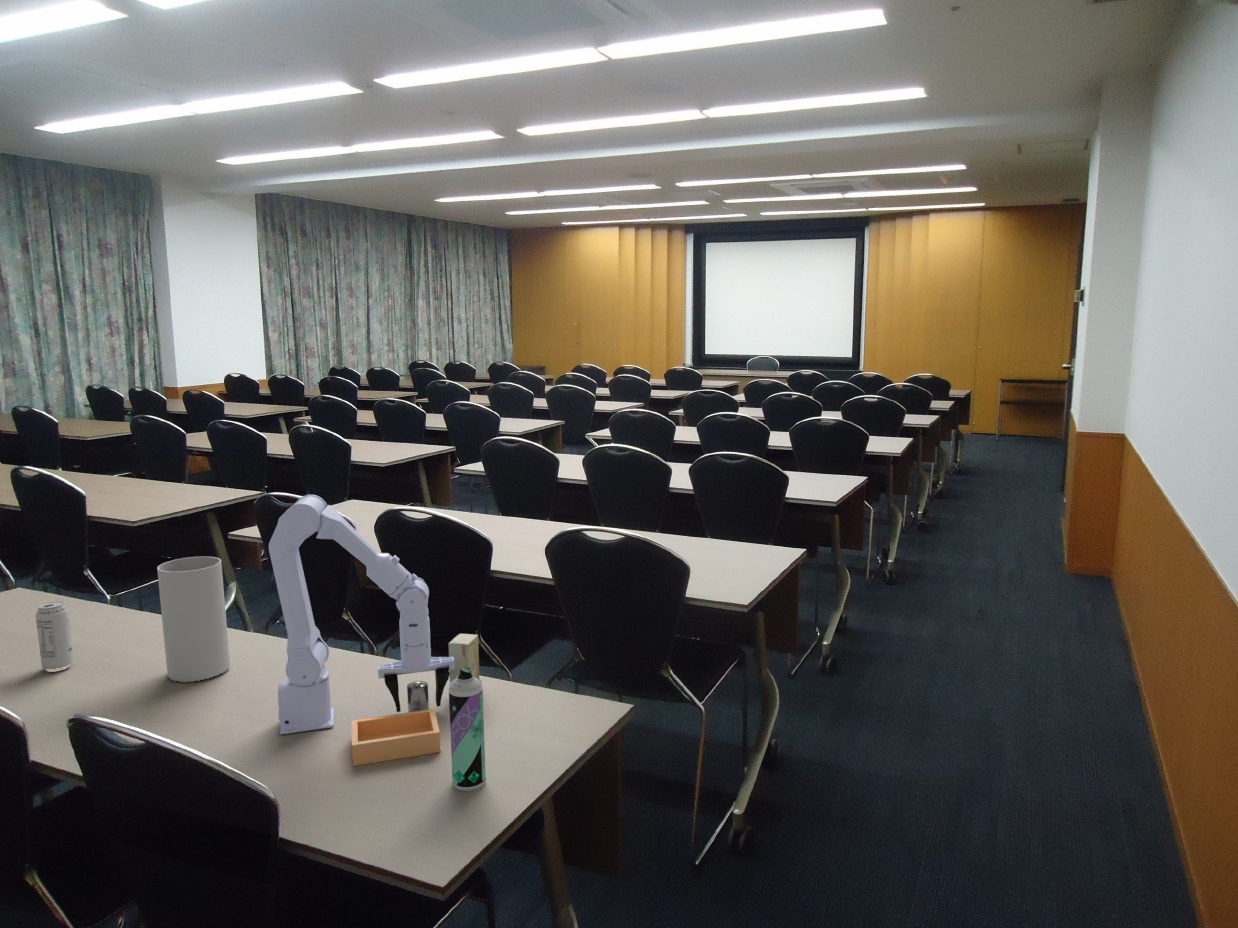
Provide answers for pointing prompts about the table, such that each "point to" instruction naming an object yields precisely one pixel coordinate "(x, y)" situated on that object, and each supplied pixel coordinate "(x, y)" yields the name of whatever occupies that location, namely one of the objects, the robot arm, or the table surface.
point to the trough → (395, 736)
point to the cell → (417, 696)
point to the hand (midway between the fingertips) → (418, 706)
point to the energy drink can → (54, 635)
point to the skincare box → (464, 654)
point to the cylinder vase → (193, 618)
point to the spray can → (467, 731)
